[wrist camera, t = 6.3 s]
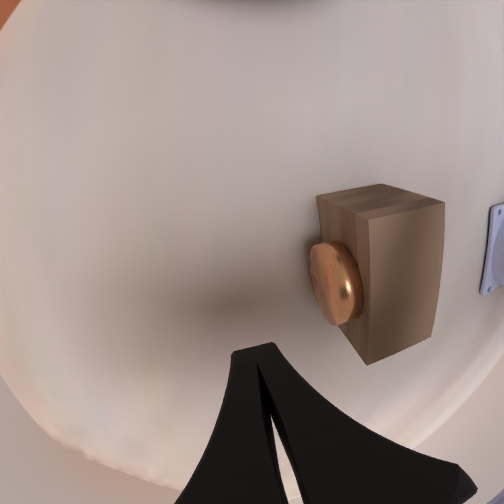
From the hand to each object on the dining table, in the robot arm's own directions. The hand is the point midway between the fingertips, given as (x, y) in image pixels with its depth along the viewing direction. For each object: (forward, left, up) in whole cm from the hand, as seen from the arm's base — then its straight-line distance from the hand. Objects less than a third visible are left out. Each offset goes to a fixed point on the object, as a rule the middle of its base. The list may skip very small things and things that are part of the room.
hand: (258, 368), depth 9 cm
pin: (-7, 0, -6) cm, 9 cm away
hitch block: (-7, 0, -7) cm, 9 cm away
